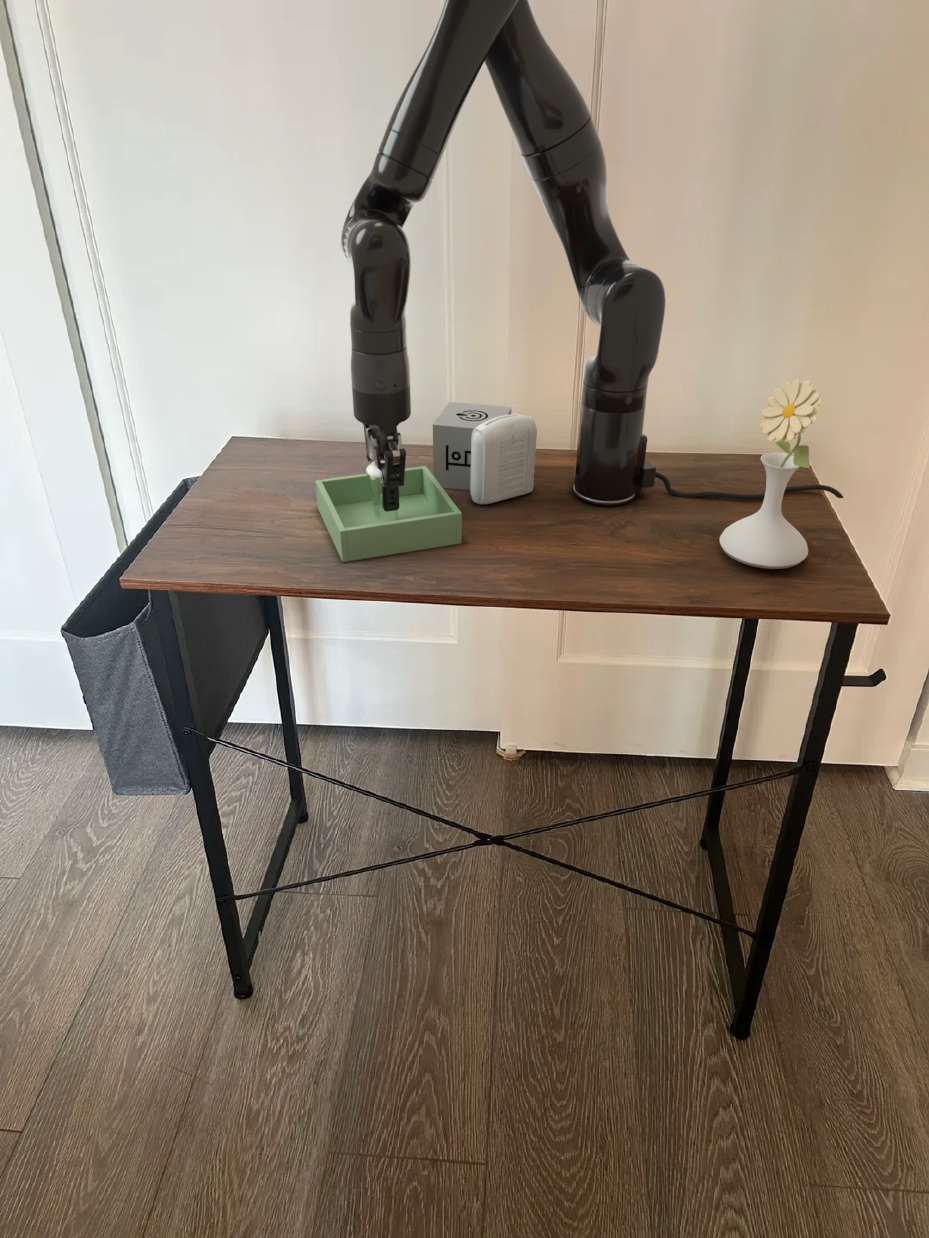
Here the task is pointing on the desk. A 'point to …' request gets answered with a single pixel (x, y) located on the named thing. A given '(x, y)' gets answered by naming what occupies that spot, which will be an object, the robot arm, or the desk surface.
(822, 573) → the desk surface
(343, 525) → the tote
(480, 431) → the photo printer
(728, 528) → the flower in vase
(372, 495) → the milkshake
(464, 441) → the icon cube
